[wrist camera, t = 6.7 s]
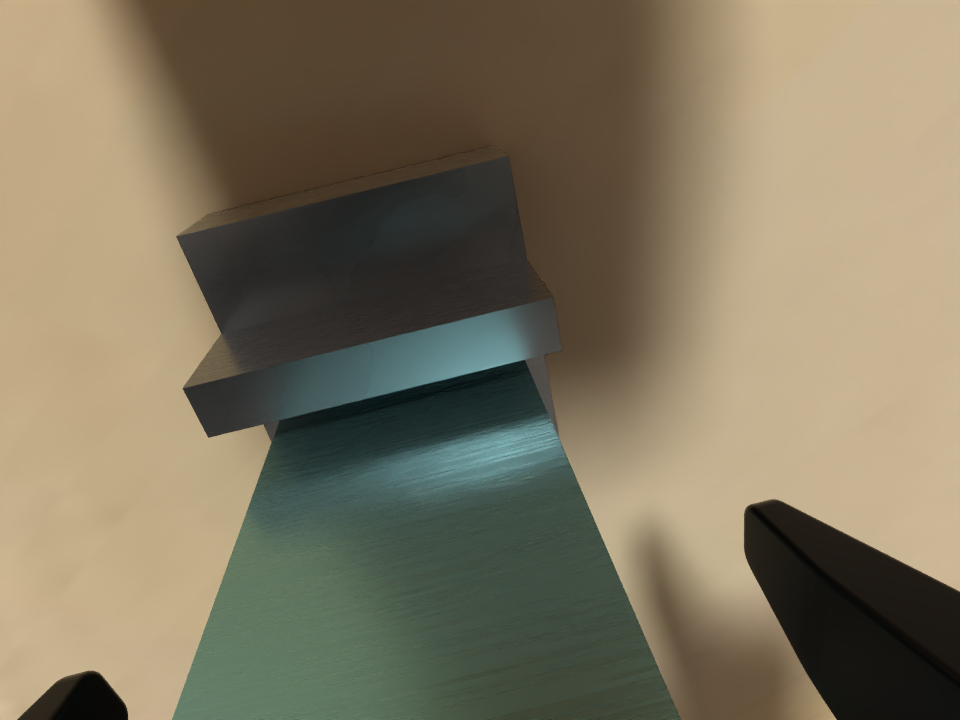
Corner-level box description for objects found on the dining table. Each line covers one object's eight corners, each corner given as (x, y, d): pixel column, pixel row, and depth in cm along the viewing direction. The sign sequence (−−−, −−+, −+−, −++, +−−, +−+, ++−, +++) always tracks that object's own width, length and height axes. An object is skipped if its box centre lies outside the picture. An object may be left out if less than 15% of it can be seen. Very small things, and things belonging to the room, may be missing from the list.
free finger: (516, 341, 10) (716, 805, 4) (556, 536, 12) (726, 1045, 6) (288, 397, 10) (82, 967, 3) (367, 584, 12) (330, 1148, 6)
